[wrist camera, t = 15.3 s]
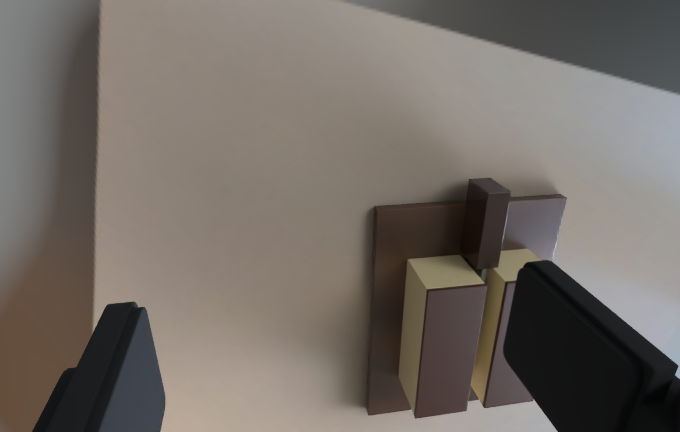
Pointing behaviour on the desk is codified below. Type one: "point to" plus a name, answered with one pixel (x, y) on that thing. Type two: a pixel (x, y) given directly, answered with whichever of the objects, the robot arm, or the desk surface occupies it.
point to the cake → (458, 334)
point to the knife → (484, 224)
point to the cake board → (432, 241)
